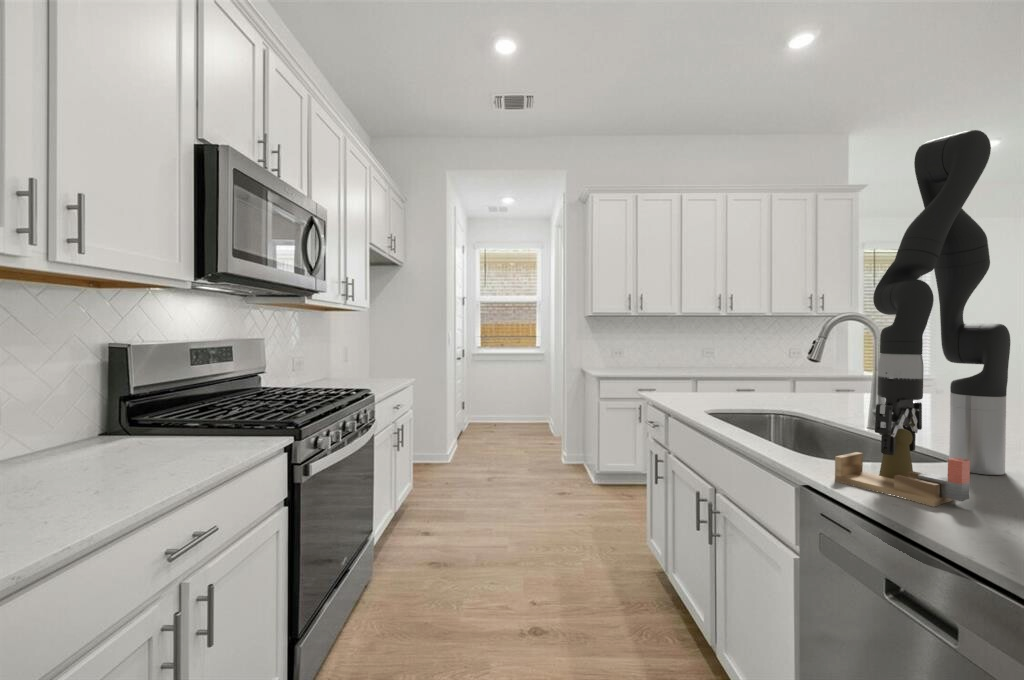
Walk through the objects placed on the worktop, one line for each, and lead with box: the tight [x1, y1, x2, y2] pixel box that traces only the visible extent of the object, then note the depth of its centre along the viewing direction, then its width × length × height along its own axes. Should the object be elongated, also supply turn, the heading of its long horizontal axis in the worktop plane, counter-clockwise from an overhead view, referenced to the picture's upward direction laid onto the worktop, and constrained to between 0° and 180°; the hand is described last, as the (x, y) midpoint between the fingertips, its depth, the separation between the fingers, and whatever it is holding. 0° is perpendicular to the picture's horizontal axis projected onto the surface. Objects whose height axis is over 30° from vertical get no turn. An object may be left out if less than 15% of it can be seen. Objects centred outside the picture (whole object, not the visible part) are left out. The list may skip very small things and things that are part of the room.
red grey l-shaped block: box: [918, 458, 971, 502], centre depth 90 cm, size 3×6×7 cm, turn 27°
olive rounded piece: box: [878, 428, 914, 479], centre depth 104 cm, size 6×6×11 cm
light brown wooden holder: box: [834, 451, 954, 507], centre depth 97 cm, size 8×17×5 cm, turn 27°
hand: (898, 452), depth 103 cm, fingers open, 8 cm apart
